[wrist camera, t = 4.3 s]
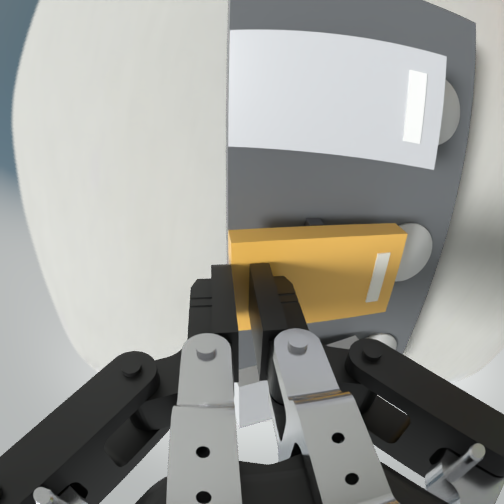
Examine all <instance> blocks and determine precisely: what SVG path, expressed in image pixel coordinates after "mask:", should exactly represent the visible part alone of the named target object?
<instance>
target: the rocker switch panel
mask: <svg viewBox="0 0 504 504" xmlns="http://www.w3.org/2000/svg"><path fill="white" fill-rule="evenodd" d="M230 30H294V31H309V32H321V33H331V34H340V35H348V36H355V37H362V38H368V39H374V40H379V41H385V42H390V43H395V44H400V45H404V46H409V47H413V48H417V49H421V50H425V51H429V52H433V53H436V54H440V55H443V56H447V61H446V78H445V91H444V102H443V112H442V120H441V128H440V135H439V142H438V149H437V155H436V161H435V167H434V170H431V169H426V168H421V167H415V166H410V165H404V164H398V163H392V162H385V161H379V160H372V159H365V158H358V157H350V156H342V155H333V154H324V153H315V152H304V151H293V150H281V149H267V148H250V147H228V103H229V43H230ZM475 55H476V23H474V22H472V21H470V20H468V19H466V18H464V17H462V16H460V15H457V14H455V13H453V12H451V11H448V10H446V9H443V8H441V7H439V6H436V5H434V4H431V3H428V2H426V1H423V0H229V1H228V36H227V94H226V214H227V264H229V255H228V230H238V229H257V228H277V227H299V226H323V225H349V224H380V223H396V224H397V225H398V226H399V227H401V228H402V229H403V230H404V231H405V232H406V233H408V235H407V239H406V243H405V247H404V251H403V254H402V258H401V262H400V265H399V269H398V272H397V276H396V279H395V283H394V286H393V289H392V292H391V296H390V299H389V302H388V305H387V308H386V311H385V312H381V313H375V314H369V315H362V316H356V317H349V318H343V319H336V320H329V321H321V322H314V323H307V326H308V329H309V331H310V332H312V333H313V334H315V335H316V336H317V337H318V338H319V340H320V342H321V343H322V344H324V345H328V344H331V343H334V342H337V341H340V340H343V339H346V338H349V337H352V336H356V337H357V338H358V339H359V340H360V339H364V338H370V339H376V340H378V341H381V342H383V343H384V344H386V345H388V346H389V347H391V348H393V349H394V350H396V351H398V352H399V353H401V354H403V352H404V350H405V347H406V345H407V343H408V341H409V338H410V336H411V334H412V331H413V329H414V327H415V324H416V322H417V319H418V317H419V314H420V312H421V309H422V307H423V304H424V301H425V299H426V296H427V293H428V291H429V288H430V285H431V282H432V279H433V277H434V274H435V271H436V268H437V265H438V262H439V258H440V255H441V252H442V249H443V246H444V242H445V239H446V235H447V232H448V228H449V225H450V221H451V217H452V213H453V209H454V205H455V201H456V197H457V193H458V188H459V184H460V179H461V174H462V169H463V164H464V158H465V153H466V147H467V141H468V134H469V127H470V119H471V111H472V101H473V91H474V77H475ZM256 365H257V363H256V356H255V350H254V344H253V337H252V331H251V330H241V331H239V370H240V369H244V368H248V367H252V366H256Z"/></svg>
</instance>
